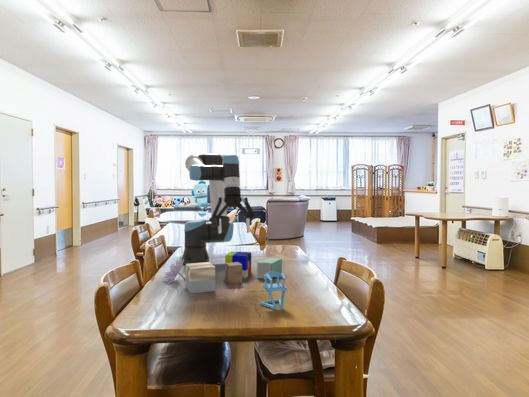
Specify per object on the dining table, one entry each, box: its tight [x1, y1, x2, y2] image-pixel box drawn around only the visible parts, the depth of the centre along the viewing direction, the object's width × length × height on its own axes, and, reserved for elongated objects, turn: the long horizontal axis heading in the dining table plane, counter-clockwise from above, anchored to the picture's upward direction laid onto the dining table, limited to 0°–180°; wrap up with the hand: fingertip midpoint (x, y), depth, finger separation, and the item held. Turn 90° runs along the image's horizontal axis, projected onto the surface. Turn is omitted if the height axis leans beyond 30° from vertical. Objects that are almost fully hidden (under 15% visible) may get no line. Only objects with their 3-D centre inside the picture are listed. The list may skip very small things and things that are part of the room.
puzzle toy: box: [224, 251, 252, 278], centre depth 180 cm, size 10×10×10 cm
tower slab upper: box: [185, 261, 216, 282], centre depth 155 cm, size 10×10×5 cm
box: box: [256, 257, 283, 280], centre depth 178 cm, size 7×14×8 cm, turn 156°
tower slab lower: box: [185, 276, 216, 294], centre depth 155 cm, size 10×10×5 cm
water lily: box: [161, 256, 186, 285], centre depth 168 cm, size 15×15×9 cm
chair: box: [259, 271, 288, 311], centre depth 133 cm, size 8×8×12 cm
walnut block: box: [224, 262, 243, 285], centre depth 166 cm, size 6×6×8 cm
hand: (234, 233), depth 173 cm, fingers open, 13 cm apart
